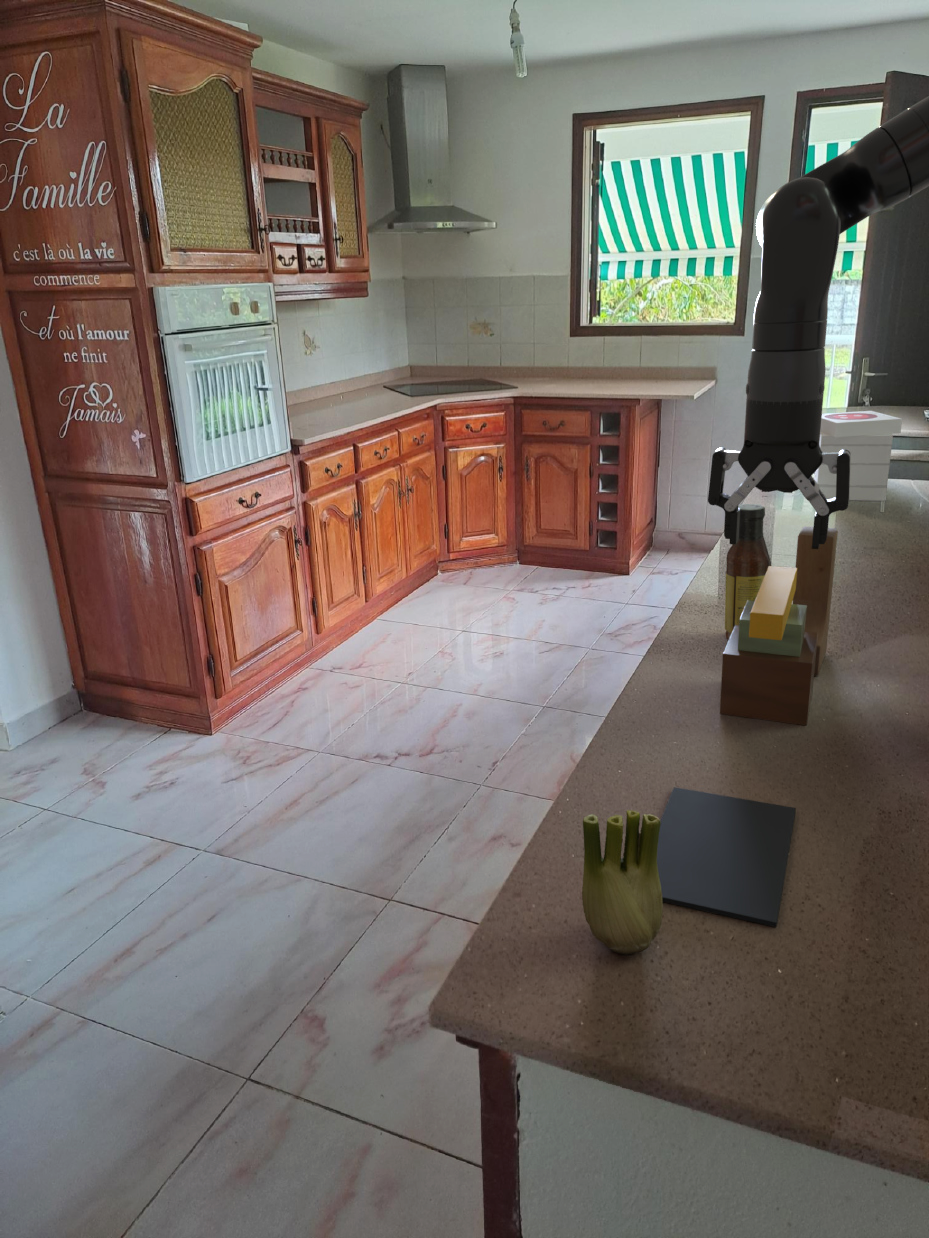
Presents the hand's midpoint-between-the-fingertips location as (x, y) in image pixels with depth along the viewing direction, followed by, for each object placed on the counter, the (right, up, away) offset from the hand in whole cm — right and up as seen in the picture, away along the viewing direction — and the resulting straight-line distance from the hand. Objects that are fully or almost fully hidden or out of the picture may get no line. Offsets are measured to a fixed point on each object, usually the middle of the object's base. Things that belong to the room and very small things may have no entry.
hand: (773, 545), depth 97 cm
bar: (+3, -7, +9) cm, 12 cm away
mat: (-10, -30, -15) cm, 35 cm away
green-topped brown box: (+4, -19, +13) cm, 23 cm away
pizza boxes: (+59, +24, +118) cm, 134 cm away
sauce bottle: (+7, -11, +33) cm, 35 cm away
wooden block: (+13, -14, +24) cm, 30 cm away
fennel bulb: (-21, -34, -25) cm, 48 cm away
